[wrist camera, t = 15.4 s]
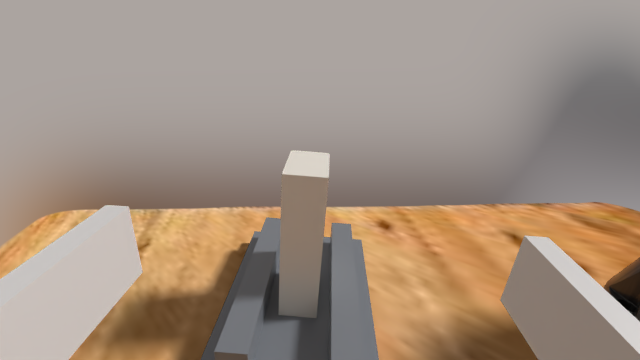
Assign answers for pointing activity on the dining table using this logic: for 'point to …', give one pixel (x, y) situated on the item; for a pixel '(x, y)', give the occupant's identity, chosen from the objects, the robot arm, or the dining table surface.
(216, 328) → the rack
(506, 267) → the dining table surface
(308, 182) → the white rectangular block
